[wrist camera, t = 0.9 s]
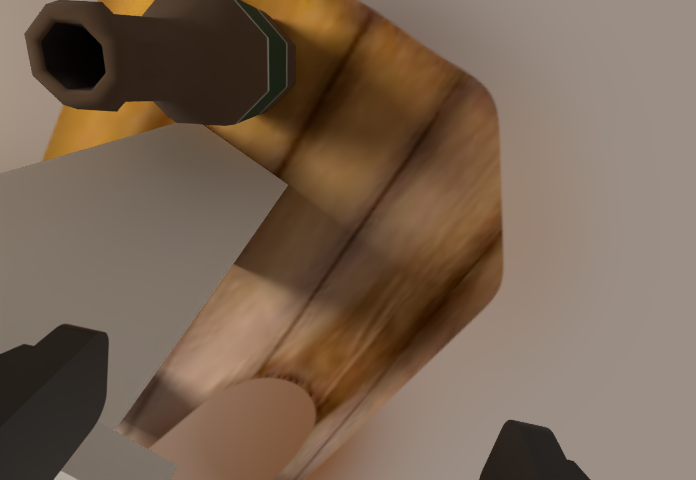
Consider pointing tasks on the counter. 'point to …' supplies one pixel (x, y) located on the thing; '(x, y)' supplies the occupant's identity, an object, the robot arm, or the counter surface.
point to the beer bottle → (164, 58)
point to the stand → (125, 261)
